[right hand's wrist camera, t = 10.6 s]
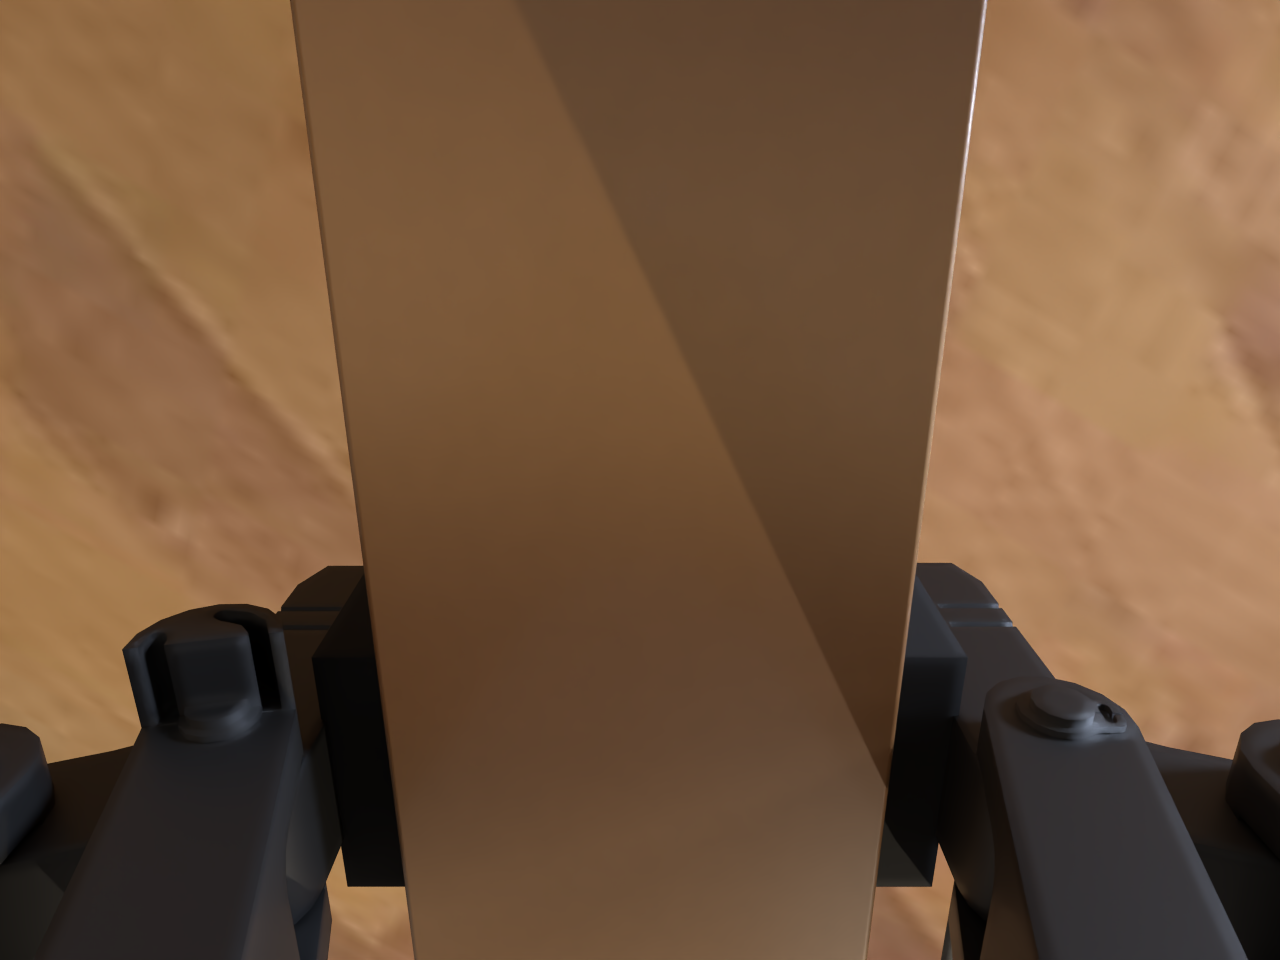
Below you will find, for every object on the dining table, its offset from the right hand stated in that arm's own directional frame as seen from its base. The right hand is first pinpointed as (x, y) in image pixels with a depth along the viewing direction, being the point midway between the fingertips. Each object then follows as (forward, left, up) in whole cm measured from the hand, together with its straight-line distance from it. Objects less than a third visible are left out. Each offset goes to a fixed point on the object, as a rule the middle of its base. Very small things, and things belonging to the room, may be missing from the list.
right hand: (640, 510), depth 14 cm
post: (-6, -18, -1) cm, 18 cm away
